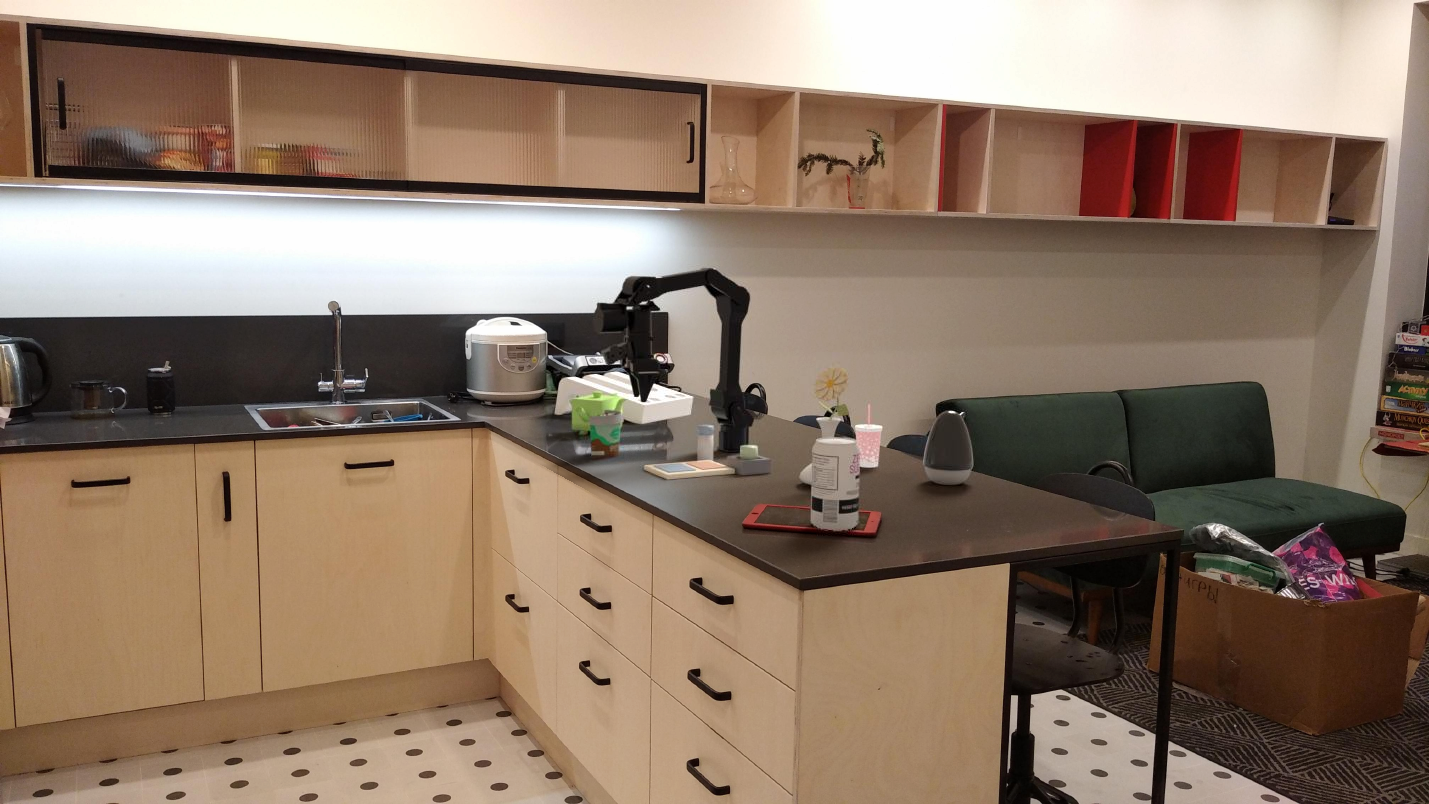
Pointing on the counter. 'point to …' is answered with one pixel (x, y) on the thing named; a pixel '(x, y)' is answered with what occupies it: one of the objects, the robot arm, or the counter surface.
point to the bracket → (625, 397)
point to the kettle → (592, 408)
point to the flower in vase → (826, 389)
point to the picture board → (689, 469)
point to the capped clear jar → (705, 442)
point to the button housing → (749, 465)
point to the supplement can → (835, 483)
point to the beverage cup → (868, 442)
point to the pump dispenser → (948, 450)
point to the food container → (605, 434)
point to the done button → (748, 452)
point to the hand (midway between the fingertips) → (639, 399)
